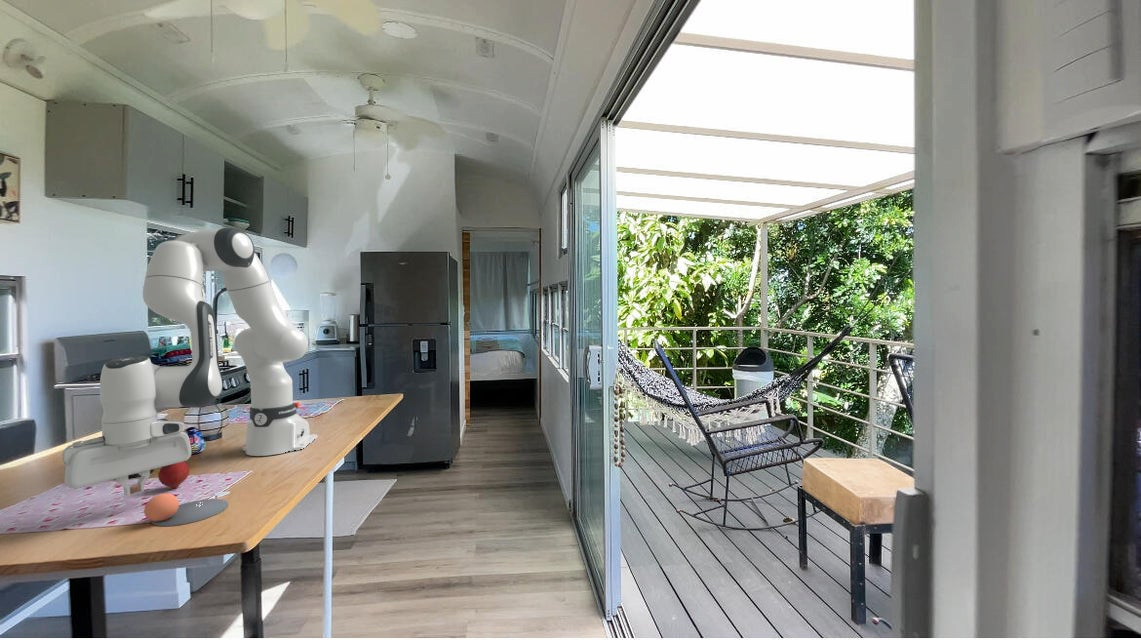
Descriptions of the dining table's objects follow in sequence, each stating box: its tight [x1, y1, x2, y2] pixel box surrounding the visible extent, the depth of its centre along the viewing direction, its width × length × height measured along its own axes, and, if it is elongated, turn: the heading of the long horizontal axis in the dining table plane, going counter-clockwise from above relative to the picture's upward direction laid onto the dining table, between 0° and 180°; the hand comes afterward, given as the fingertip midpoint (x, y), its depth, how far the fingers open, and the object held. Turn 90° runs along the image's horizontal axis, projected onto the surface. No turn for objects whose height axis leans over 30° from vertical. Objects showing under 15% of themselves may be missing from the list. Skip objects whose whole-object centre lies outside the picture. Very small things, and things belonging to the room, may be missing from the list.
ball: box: [143, 493, 180, 522], centre depth 97 cm, size 6×6×6 cm
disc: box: [151, 498, 229, 527], centre depth 101 cm, size 13×13×1 cm
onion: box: [158, 461, 190, 489], centre depth 115 cm, size 6×6×8 cm
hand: (134, 493), depth 102 cm, fingers closed
